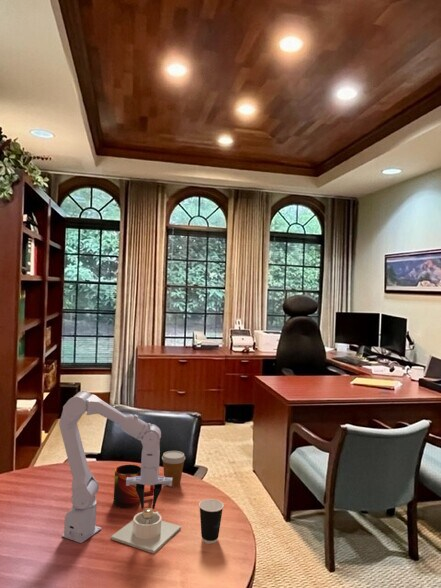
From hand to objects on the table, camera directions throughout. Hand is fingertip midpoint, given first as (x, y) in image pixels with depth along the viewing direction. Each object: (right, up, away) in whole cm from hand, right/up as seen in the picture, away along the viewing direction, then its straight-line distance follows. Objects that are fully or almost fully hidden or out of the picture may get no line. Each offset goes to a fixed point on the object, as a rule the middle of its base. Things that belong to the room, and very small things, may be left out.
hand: (148, 507), depth 140 cm
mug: (-10, -8, +22) cm, 26 cm away
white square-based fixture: (0, -8, 0) cm, 8 cm away
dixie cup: (+20, -10, -2) cm, 22 cm away
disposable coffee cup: (+4, -9, +38) cm, 39 cm away
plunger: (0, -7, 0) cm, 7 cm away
